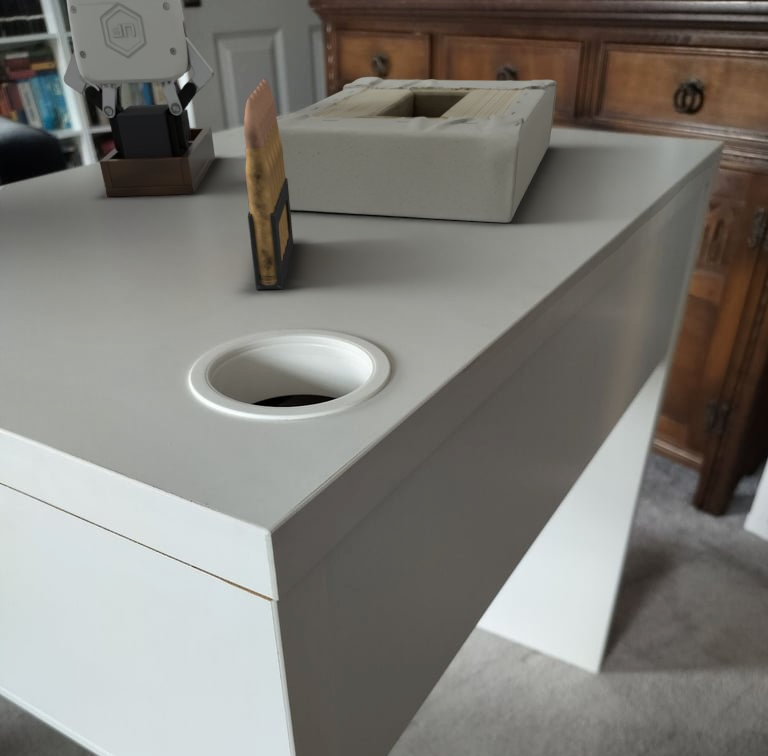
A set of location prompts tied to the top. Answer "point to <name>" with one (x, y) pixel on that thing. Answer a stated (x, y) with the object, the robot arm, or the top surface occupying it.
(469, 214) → the box
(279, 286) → the ammunition clip
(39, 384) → the top surface
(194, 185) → the tray
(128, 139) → the black block
